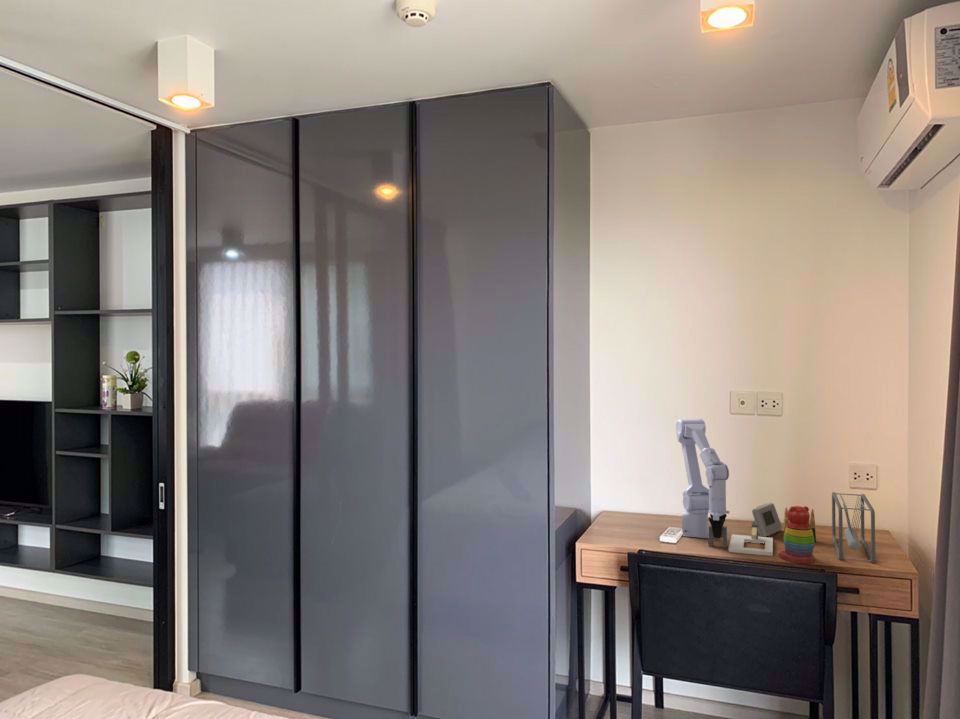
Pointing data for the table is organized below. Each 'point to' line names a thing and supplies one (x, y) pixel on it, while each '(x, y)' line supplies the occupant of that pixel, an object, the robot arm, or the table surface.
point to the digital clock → (766, 520)
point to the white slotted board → (739, 540)
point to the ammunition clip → (811, 523)
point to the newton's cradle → (850, 532)
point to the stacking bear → (798, 537)
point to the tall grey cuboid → (723, 535)
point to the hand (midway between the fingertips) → (717, 536)
